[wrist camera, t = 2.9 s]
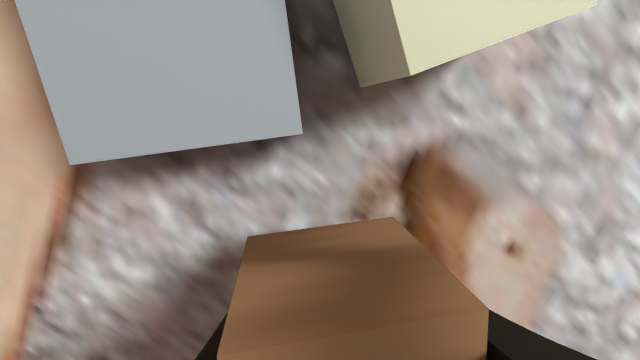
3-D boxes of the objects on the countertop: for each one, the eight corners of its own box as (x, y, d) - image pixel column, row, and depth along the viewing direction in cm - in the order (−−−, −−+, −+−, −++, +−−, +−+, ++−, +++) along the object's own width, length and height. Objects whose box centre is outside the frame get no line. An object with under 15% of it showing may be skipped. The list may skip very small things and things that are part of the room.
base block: (121, 151, 12) (70, 165, 9) (62, -54, 10) (-26, -120, 7) (298, 127, 12) (302, 134, 10) (271, -70, 11) (266, -136, 8)
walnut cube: (267, 360, 11) (257, 551, 6) (247, 236, 10) (216, 356, 5) (397, 337, 12) (479, 498, 7) (392, 216, 10) (488, 308, 6)
